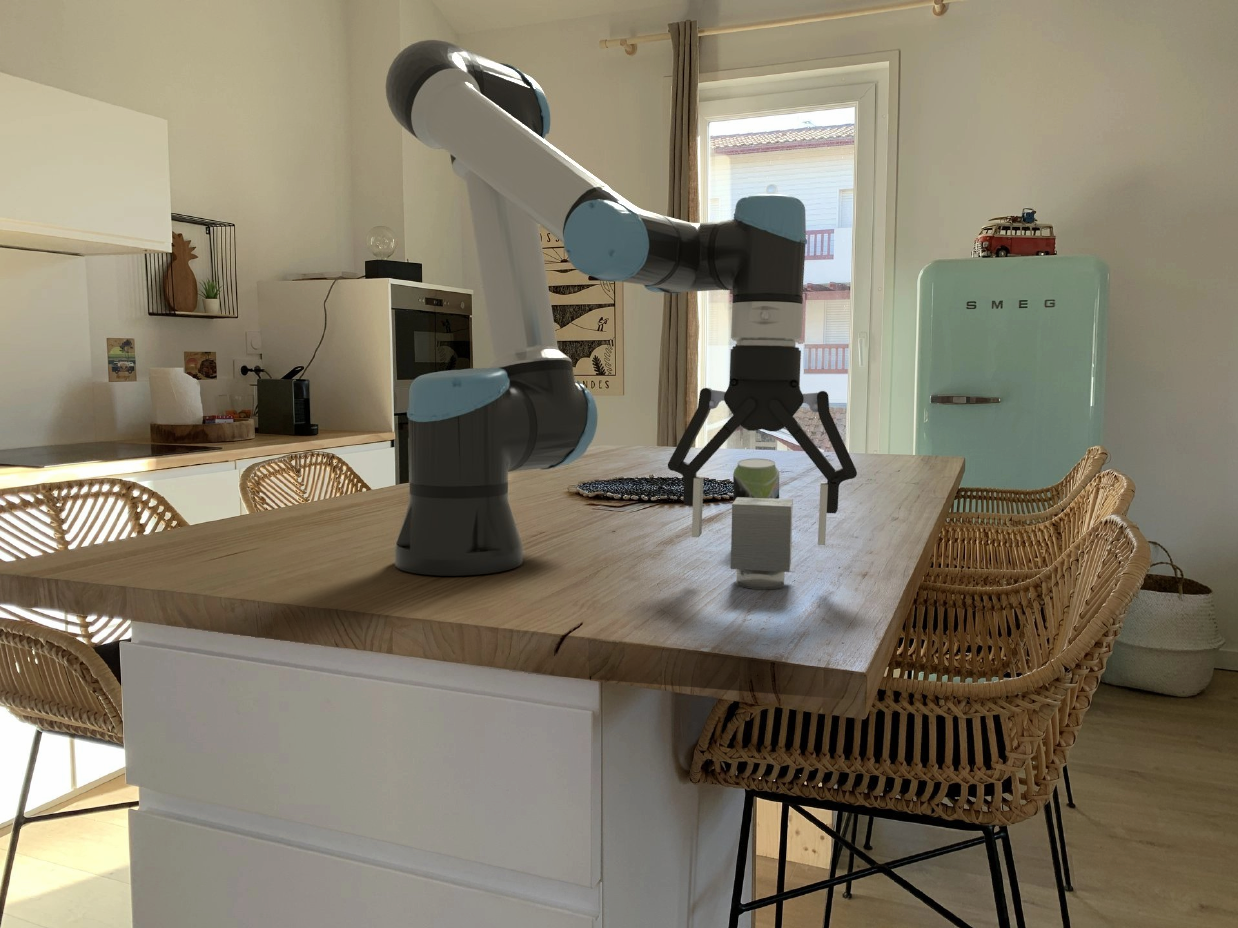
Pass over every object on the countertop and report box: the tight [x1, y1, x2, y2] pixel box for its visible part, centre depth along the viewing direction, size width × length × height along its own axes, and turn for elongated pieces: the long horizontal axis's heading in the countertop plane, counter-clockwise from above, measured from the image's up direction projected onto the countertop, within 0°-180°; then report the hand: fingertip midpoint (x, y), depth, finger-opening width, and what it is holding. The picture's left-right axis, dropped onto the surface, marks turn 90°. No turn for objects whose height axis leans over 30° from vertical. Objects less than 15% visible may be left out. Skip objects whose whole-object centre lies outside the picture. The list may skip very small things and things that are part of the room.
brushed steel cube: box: [730, 497, 794, 573], centre depth 101 cm, size 6×6×7 cm
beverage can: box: [732, 458, 780, 503], centre depth 123 cm, size 6×7×12 cm
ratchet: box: [736, 569, 786, 591], centre depth 108 cm, size 5×17×6 cm, turn 168°
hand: (758, 539), depth 102 cm, fingers open, 13 cm apart
